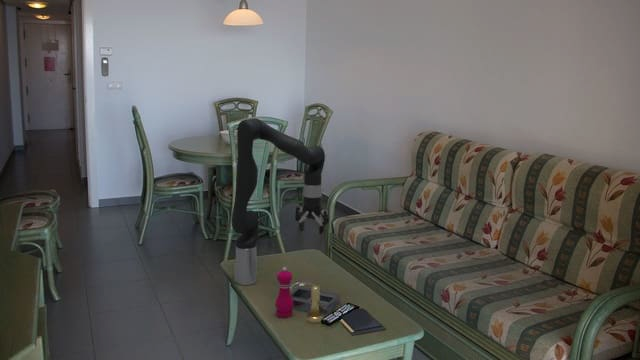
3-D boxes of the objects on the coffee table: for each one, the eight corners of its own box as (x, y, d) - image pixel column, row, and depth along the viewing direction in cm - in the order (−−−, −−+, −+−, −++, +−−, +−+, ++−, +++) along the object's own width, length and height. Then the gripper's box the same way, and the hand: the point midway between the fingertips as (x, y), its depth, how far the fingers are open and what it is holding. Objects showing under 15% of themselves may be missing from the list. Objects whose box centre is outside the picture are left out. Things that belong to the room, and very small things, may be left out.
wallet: (387, 327, 214) (350, 333, 208) (387, 331, 214) (350, 337, 209) (365, 305, 232) (330, 310, 227) (365, 309, 232) (330, 315, 227)
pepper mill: (286, 319, 221) (286, 272, 216) (271, 315, 224) (271, 268, 220) (296, 313, 227) (297, 266, 222) (282, 308, 230) (282, 262, 226)
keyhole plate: (284, 306, 232) (284, 298, 231) (299, 294, 245) (299, 286, 244) (326, 316, 225) (327, 307, 224) (339, 302, 237) (340, 294, 236)
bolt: (304, 321, 220) (304, 288, 217) (310, 314, 226) (311, 282, 223) (319, 324, 217) (319, 291, 214) (325, 318, 223) (326, 285, 220)
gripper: (292, 194, 230) (292, 232, 234) (324, 198, 225) (323, 237, 228) (300, 190, 237) (300, 227, 240) (331, 194, 231) (330, 232, 235)
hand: (311, 232), depth 234 cm, fingers open, 8 cm apart
